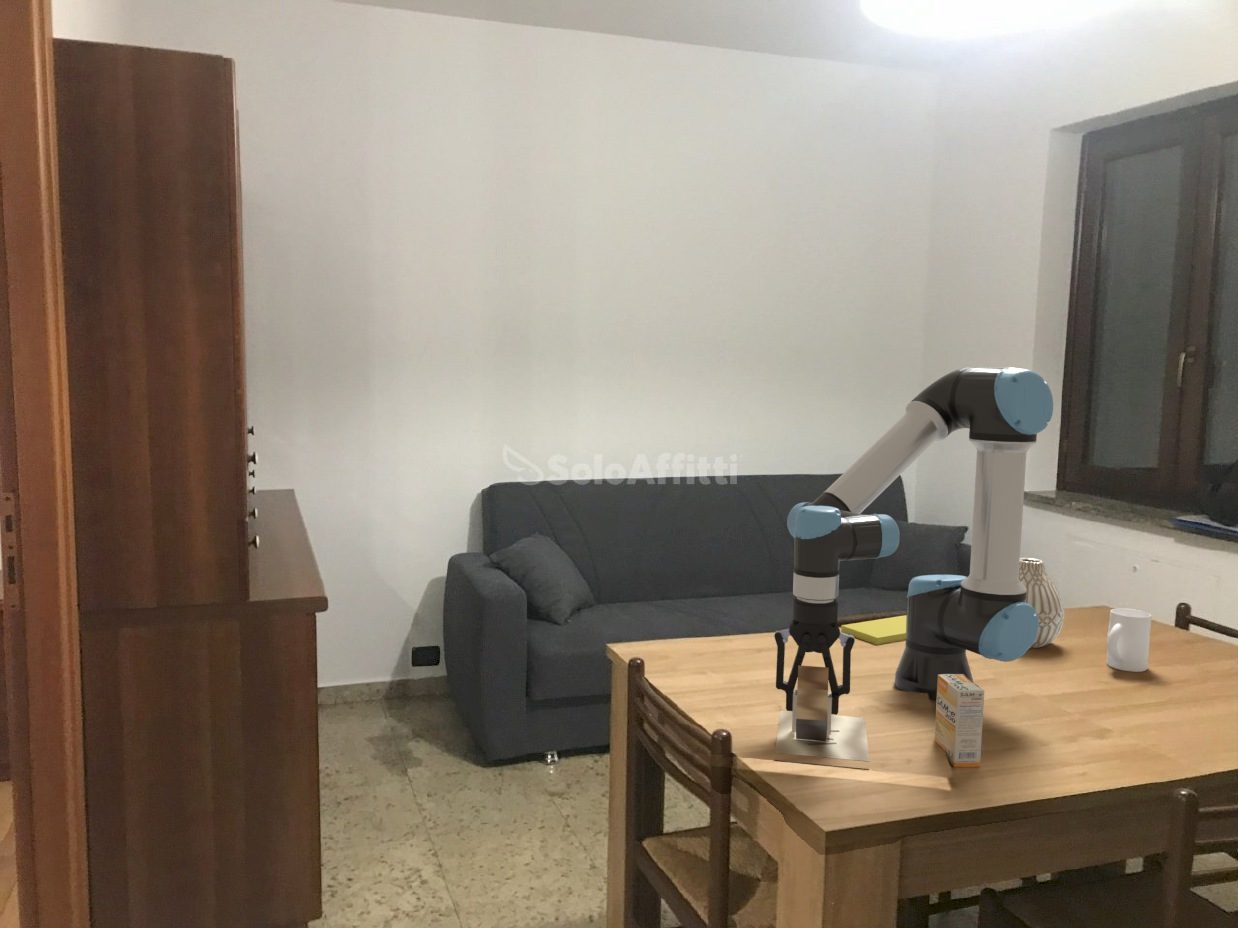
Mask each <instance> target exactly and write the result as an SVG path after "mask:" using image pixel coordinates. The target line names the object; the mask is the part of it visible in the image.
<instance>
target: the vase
mask: <svg viewBox="0 0 1238 928" xmlns="http://www.w3.org/2000/svg"><path fill="white" fill-rule="evenodd" d="M1019 581H1020V582H1021V583H1022V584H1023V585H1024V586H1025V587H1026V590H1027V592H1026V603H1028V604H1029V605H1031V606H1032V607H1033V608H1034V609H1035V612H1036V613H1037V614H1038V618H1039V628H1038V633H1037V636H1036V639H1035V641H1034V643H1033V644H1032V646H1031V647H1030V648H1029V649H1033V648H1035V649H1036V648H1043V647H1045V646H1047V645H1049V644H1051V643H1052V642H1053V641H1054V640H1055V639H1056V638H1057V637H1058V635H1059V634H1060V632H1061V631H1062V628H1063V625H1064V622H1065V610H1064V609H1065V608H1064V604H1063V599H1062V597H1061V595H1060V592H1059V591H1058V589H1057V586H1055V583H1054V582H1053V580H1052V579H1051V578H1050V577H1049V575H1048V573H1047V571H1046V567H1045V563H1044V561H1043V560H1042V559H1039V558H1032V557H1020V563H1019Z"/></svg>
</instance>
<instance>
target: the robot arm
mask: <svg viewBox="0 0 1238 928" xmlns="http://www.w3.org/2000/svg"><path fill="white" fill-rule="evenodd" d="M1053 412H1054V399H1053V394H1052V390H1051V388H1050V386H1049V384H1048V382H1046V381H1045V379H1044V377H1043V376H1042V375H1040V374H1039V373H1038V372H1036V371H1035V370H1031V369H1028V368H1027V369H1026V368H1019V367H1013V366H1011V367H976V366H975V367H972V366H971V367H963V368H959V369H955V370H953V371H951V372H949V373H947V374H945V375H943V376H942V377H939V379H937V380H935V381H934V382H933V383H931V384H929V385H928V386H927V387H926V388H924V389H923V390H922V391H920V392H919V393H918V394H917V395H916V396H915V397H914V398H913V399H912V400H911V401H910V402H909V403H908V404H907V405H906V407H905V414H904V415H903V416H901V418H899V420H898V421H896V422H895V423H894V424H893V425H892V426H891V427H890V429H888V430H887V431H886V432H885V433H884V434H883V435H881V437H880V438H879V439H878V440H877V441H876V442H875V443H873V444H872V445H871V446H870V447H869V448H868V449H867V450H866V451H865V452H864V453H863V454H862V455H861V456H860V457H859V458H858V459H857V460H855V461H854V463H853V464H852V465H851V466H850V467H849V468H847V470H845V471H844V472H843V473H842V474H841V475H840V476H839V477H838V478H837V479H836V480H835V481H834V482H833V483H831V485H830V486H829V487H827V489H826V490H825V491H823V492H822V493H821V495H820V496H818V497H817V498H816V499H815V500H814V501H813V502H811V501H807V502H800V503H797V504H795V505H794V506H793V507H792V508H791V509H790V511H789V513H788V515H787V518H786V519H787V521H786V523H787V524H786V525H787V529H788V532H789V534H790V536H792V537H793V539H794V541H793V542H794V543H793V546H794V547H793V549H794V550H793V553H794V554H793V559H794V561H793V579H792V580H793V581H792V582H793V585H792V587H793V588H792V594H793V595H794V596H795V597H794V598H793V599H792V614H791V615H792V620H791V624H790V626H789V628H786V629H778V628H777V629H776V630H775V631H774V636H773V637H774V640H775V644H776V646H777V648H776V649H777V650H776V651H777V653H776V673H775V688H776V689H777V690H781V691H784V693H785V709H786V710H785V711H793V712H792V732H796V712H797V689H795V687H796V684H797V682H798V665H800V666H803V662H804V658H805V656H806V653H817V654H821V655H822V660H823V663H824V667H829V671H828V686H829V689H830V692H829V691H828V721H827V735H831V715H838V714H839V706H840V705H839V701H840V700H839V699H840V697H841V696H843V695H849V694H850V693H851V666H852V665H851V663H852V662H851V661H852V659H851V657H852V656H851V655H852V650H853V647H854V644H855V642H856V641H855V637H854V635H852V634H845V633H843V632H841V629H840V627H839V626H838V614H839V602H838V600H837V598H838V597H839V587H840V586H839V584H840V583H839V581H840V565H841V564H840V563H841V562H846V561H856V560H857V561H858V560H868V559H869V560H870V559H874V560H878V559H879V558H884V557H889V556H891V555H893V554H894V553H895V552H896V551H897V550H898V547H899V544H900V534H901V533H900V528H899V526H898V523H897V522H896V520H895V519H894V518H893V517H892V516H890V515H889V514H885V513H884V514H882V513H881V514H880V513H879V514H877V513H871V514H862V513H863V512H864V510H865V509H867V508H868V507H869V506H870V505H871V504H872V503H873V502H874V501H875V500H876V499H877V498H878V497H879V496H880V495H881V494H882V493H883V492H885V490H886V489H887V488H888V487H890V485H892V483H894V481H895V480H897V479H898V477H899V476H901V474H902V473H904V472H905V470H907V468H908V467H910V465H911V464H913V463H914V462H915V461H916V460H917V459H918V458H919V457H920V456H921V455H922V454H923V453H924V452H925V451H926V450H927V449H928V448H929V447H931V445H933V443H935V442H941V441H944V440H946V438H947V437H948V436H949V435H951V433H953V432H955V431H958V430H962V429H969V432H968V433H969V434H968V441H969V442H971V444H972V446H974V448H975V449H976V458H975V459H976V460H975V461H976V463H975V476H974V477H975V478H974V493H973V494H974V495H973V514H972V531H971V544H970V545H971V546H970V548H971V549H970V564H969V575H968V576H965V575H959V574H958V575H957V574H927V575H918V576H914V577H912V578H911V579H910V581H909V584H908V590H907V595H906V615H907V618H906V640H905V646H904V650H903V652H902V656H901V658H900V659H899V662H898V665H897V667H896V670H895V674H894V685H895V687H896V688H897V689H899V690H900V691H902V692H909V693H921V694H927V697H928V699H931V700H937V683H938V675H940V674H963V675H965V676H966V677H967V678H968V679H970V680H971V681H972V682H974V678H973V675H972V672H971V668H970V665H969V661H968V657H967V651H969V652H972V653H975V654H977V655H978V656H979V655H980V656H982V657H984V659H989V660H995V661H999V662H1003V663H1007V662H1009V663H1010V662H1014V661H1016V660H1018V659H1019V658H1022V656H1024V655H1025V654H1026V653H1027V651H1028V650H1029V649H1031V648H1030V647H1031V646H1032V644H1033V643H1034V641H1035V639H1036V636H1037V633H1038V628H1039V618H1038V614H1037V613H1036V612H1035V609H1034V608H1033V607H1032V606H1031V605H1029V604H1028V603H1026V592H1027V590H1026V587H1025V586H1024V585H1023V584H1022V583H1021V582H1020V581H1019V563H1020V558H1021V544H1022V532H1023V531H1022V530H1023V513H1024V497H1025V482H1026V481H1025V480H1026V466H1027V453H1028V451H1029V450H1030V449H1031V448H1032V447H1033V446H1035V445H1036V444H1037V439H1038V438H1037V436H1038V434H1039V433H1041V432H1043V431H1044V430H1045V429H1046V428H1047V427H1048V425H1049V424H1048V423H1049V422H1050V421H1051V419H1052V417H1053ZM790 636H791V638H792V639H793V641H794V642H795V643H796V645H797V646H798V647H797V649H796V650H797V651H796V654H795V657H794V661H793V663H792V666H791V670H790V674H789V677H788V680H787V681H786V680H785V679H784V676H785V675H784V674H785V654H786V653H785V651H786V643H787V642H789V637H790ZM838 639H839V641H840V642H839V643H840V646H841V647H842V682H841V683H842V684H840V685H839V684H838V681H837V676H836V672H835V667H834V663H833V658H832V655H831V648H832V646H833V645H834V644H835V643H836V642H837V640H838Z"/></svg>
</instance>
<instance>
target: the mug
mask: <svg viewBox="0 0 1238 928" xmlns="http://www.w3.org/2000/svg"><path fill="white" fill-rule="evenodd" d="M1151 625H1152V614H1151V613H1149V612H1146V611H1144V610H1139V609H1134V608H1127V607H1126V608H1124V607H1123V608H1121V607H1120V608H1112V609H1110V612H1109V625H1108V627H1107V630H1108V632H1107V634H1106V635H1107V637H1106V638H1107V643H1106V650H1107V652H1106V653H1107V654H1106V664H1107V665H1108V666H1109V667H1111V668H1113V669H1115V670H1116V669H1117V670H1119V671H1124V672H1125V671H1126V672H1134V673H1135V672H1136V673H1139V672H1146V671H1148V667H1149V666H1148V665H1149V655H1150V654H1149V653H1150V640H1151V639H1150V637H1151V628H1152V627H1151Z"/></svg>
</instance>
